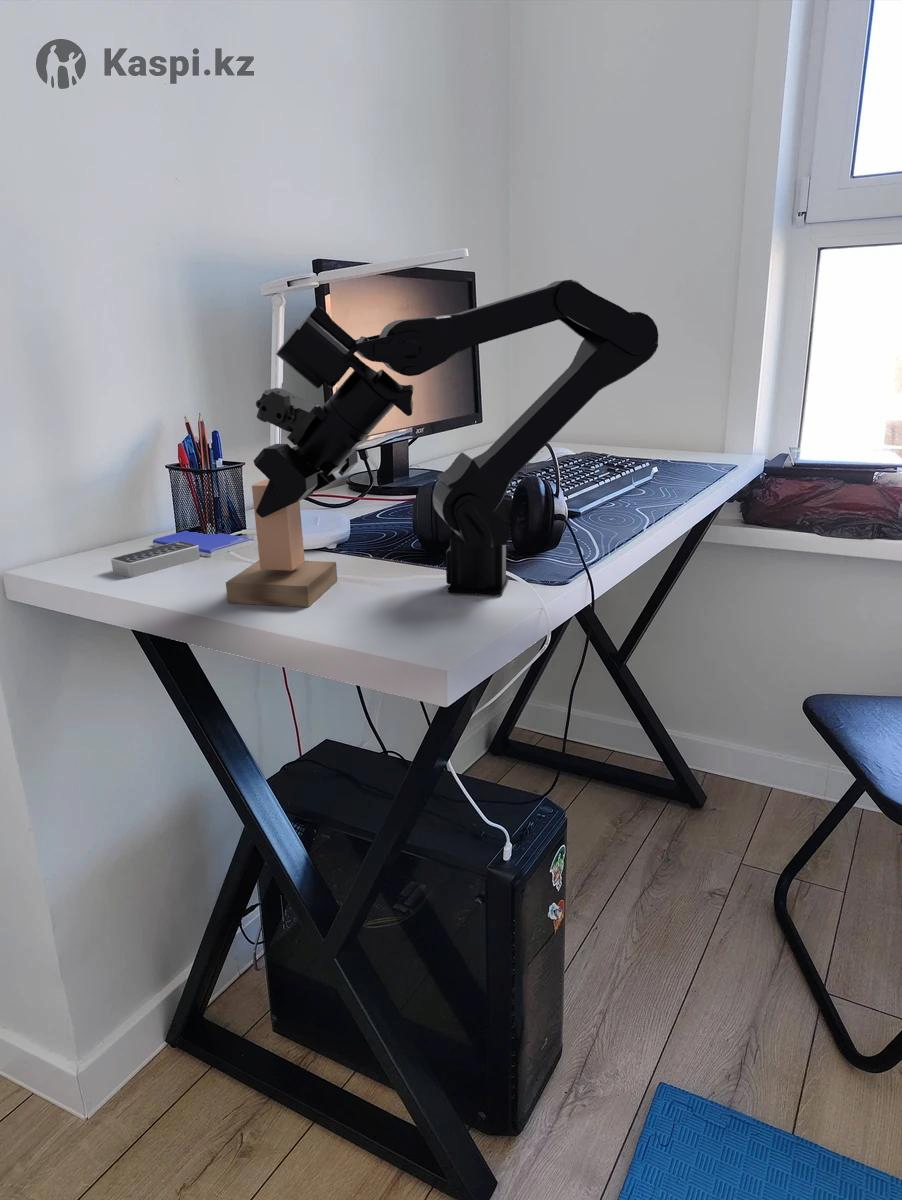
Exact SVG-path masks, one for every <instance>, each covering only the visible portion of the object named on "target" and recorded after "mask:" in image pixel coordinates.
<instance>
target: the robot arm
mask: <svg viewBox="0 0 902 1200" xmlns="http://www.w3.org/2000/svg"><path fill="white" fill-rule="evenodd" d="M555 321H560V322H562V323H563V324H564V325H565V326H566V327H568V328H569V329H570V330H571V331H573V332H574V333H575V334H576V335H577V336H579V337H581V338H583V340H582V341H581V343H580V345H579V347H578V349H577V351H576V354H575V355H574V358H573V360H572V361H571V363H570V364H569V366H568V368H566V369H565V370H564V372H563V373H561V375H560V376H558V377H557V379H555V381H553V382H552V383H551V384H550V386H549V387H548V388H547V389H546V390H545V391H544V392H543V393H542V394H541V395H540V396H538V398H537V399H536V400H535V401H534V402H532V403H531V405H530V406H529V407H528V408H527V409H526V410H525V411H524V412H523V413H522V414H521V415H520V416H519V417H518V418H517V419H516V420H515V421H514V422H513V423H512V424H511V425H510V426H509V427H508V428H507V429H506V430H505V431H504V432H503V433H502V434H501V435H500V437H498V439H496V440H495V442H494V443H492V444H491V445H490V447H489V448H488V449H486V450H485V451H484V452H482V453H481V454H478V455H477V456H475V457H473V458H471V457H470V456H469V455H467V454H466V453H464V452H460V453H459V454H458V455H457V457H456V458H455V459H454V460H453V462H452V463H451V465H450V466H449V467H448V468H447V469H446V470H444V471H443V472H439V473H438V474H437V475H436V476H437V478H438V479H440V480H438V482H437V483H436V484H435V486H434V488H433V490H432V505H433V507H434V510H435V512H436V513H437V514H438V516H439V517H440V518H442V520H443V521H444V522H445V523H446V524H447V525H448V527H450V529H451V530H452V531H453V532H454V534H453V536H452V537H451V538H450V539H449V541H450V542H449V547H448V549H447V550H446V551H445V571H446V572H445V575H446V576H445V577H446V584H447V585H449V586H448V587H447V593H448V594H461V595H462V594H463V595H482V596H483V595H485V596H502V595H503V593H504V591H505V589H506V586H507V584H508V582H509V579H510V578H509V576H508V575H507V543H508V539H509V538H510V534H511V532H512V527H511V525H509V524H508V523H506V521H504V519H502V518H501V517H500V516H499V515H498V514H497V513H496V512H495V511H496V510H497V509H498V507H500V505H501V503H502V502H503V500H504V498H505V496H506V493H507V490H508V489H509V487H510V484H511V482H512V480H513V479H514V478H515V476H516V475H518V473H519V472H520V471H521V470H522V469H523V468H524V467H525V466H526V465H527V464H528V463H529V462H530V461H531V460H532V459H533V458H534V457H535V456H536V455H537V454H538V453H539V452H540V451H541V450H542V449H543V448H544V447H545V446H546V445H547V444H548V443H549V442H550V441H551V440H552V439H553V438H554V437H555V436H556V435H557V434H558V433H559V432H560V431H561V430H562V429H563V428H564V427H565V426H566V425H567V424H568V422H570V421H571V420H572V419H573V418H574V417H575V416H576V415H577V414H578V413H579V412H580V411H581V410H582V409H583V408H584V406H586V405H587V404H588V403H589V402H590V401H591V400H592V399H593V397H595V396H596V395H597V394H598V393H599V392H600V391H601V390H603V389H605V388H606V387H609V386H610V385H612V384H614V383H615V382H618V381H620V380H622V379H623V378H626V377H627V376H628V375H631V374H632V373H633V372H634V371H636V370H637V369H638V368H640V367H641V366H642V365H644V364H645V363H647V362H648V361H649V360H651V358H652V357H653V356H654V354H656V352H657V350H658V347H659V331H658V326H657V325H656V323H655V321H654V319H652V317H650V316H649V315H648V314H646V313H644V312H641V311H628V310H626V309H625V308H623V307H621V306H619V304H616V303H614V302H612V301H610V300H608V299H607V298H604V297H602V296H600V295H599V294H596V293H594V292H592V291H591V290H589V289H588V288H586V287H585V286H584V285H582V284H581V283H580V282H579V281H577V280H575V279H565V280H555V281H553V282H551V283H550V284H548V285H546V286H543V287H540V288H537V289H533V290H530V291H527V292H523V293H520V294H517V295H513V296H511V297H507V298H503V299H501V300H497V301H494V302H489V303H487V304H485V305H481V306H477V307H473V308H471V309H467V310H464V311H461V312H458V313H455V314H454V313H452V314H443V315H434V316H433V315H432V316H424V317H423V316H422V317H413V318H404V319H403V318H402V319H398V320H394V321H392V322H389V323H388V324H387V325H385V326H383V329H382V330H381V332H380V334H377V335H373V336H367V337H366V336H360V337H359V339H355V338H353V337H352V336H351V335H350V334H349V333H348V332H346V331H345V330H344V329H343V328H342V327H341V325H340V326H339V325H338V324H337V323H336V322H335V320H333V319H332V317H331V316H330V315H329V314H328V312H326V310H324V309H323V308H322V307H321V306H319V305H317V306H315V307H314V308H313V309H312V310H311V312H309V314H308V315H307V316H306V318H304V320H303V321H302V322H301V324H299V326H298V327H295V328H294V329H293V330H292V332H291V333H290V334H289V335H288V337H286V340H284V342H283V343H282V344H281V346H280V347H279V349H278V350H277V352H276V353H275V355H276V356H277V357H279V358H280V359H281V360H282V361H283V362H284V363H285V364H287V365H288V366H289V367H290V368H292V369H293V370H294V371H295V372H296V373H298V374H299V375H300V376H302V378H303V379H305V380H306V381H307V382H308V383H310V384H311V385H312V386H314V388H315V389H317V390H318V389H320V388H321V387H322V386H323V385H324V384H325V385H326V386H327V387H329V388H330V389H333V388H334V387H335V386H336V385H337V384H338V382H340V380H341V379H342V378H343V377H344V375H346V373H347V372H348V370H349V369H350V368H351V369H352V370H353V371H352V372H351V373H350V375H349V376H348V377H347V378H346V379H345V380H344V381H343V382H342V384H341V385H340V386H339V387H338V388H337V390H336V391H335V392H334V393H333V394H332V395H331V396H330V397H329V399H328V400H327V401H326V402H325V403H323V404H314V403H312V402H311V401H309V400H306V399H304V398H303V397H301V396H298V395H296V394H295V393H292V392H290V391H289V390H286V389H283V388H279V387H274V388H270V389H266V390H265V389H264V392H262V394H261V397H260V399H258V400H256V401H255V406H256V408H257V409H258V411H257V414H256V418H257V419H258V420H259V421H261V422H263V423H269V424H271V425H274V426H275V427H277V428H279V429H282V430H284V431H287V432H288V433H289V435H287V437H286V438H287V439H288V440H289V441H290V443H291V444H293V445H294V446H292V447H291V446H290V445H289V443H275V444H272V445H270V446H267V447H265V448H264V447H263V449H262V450H261V451H260V452H259V453H258V454H257V456H256V457H255V458H254V459H253V464H254V466H255V467H256V469H258V470H259V471H260V472H261V473H262V474H263V475H264V476H265V477H266V479H269V482H268V485H267V487H266V489H265V492H264V494H263V496H262V498H261V501H260V503H259V505H258V507H257V509H256V513H257V514H258V515H259V516H260V517H262V518H264V517H266V516H268V515H270V514H272V513H274V512H276V511H278V510H280V509H283V508H285V507H287V506H289V505H291V504H293V503H295V502H298V501H301V500H304V499H306V498H308V497H309V496H311V495H313V494H314V492H316V491H318V490H320V489H322V488H324V487H326V486H328V485H330V484H332V483H333V482H335V481H336V480H337V478H336V476H335V475H334V473H335V472H337V471H338V470H339V471H338V474H339V476H341V477H343V476H345V475H346V474H347V473H350V471H351V470H352V469H353V468H354V467H355V465H357V464H358V462H359V461H358V459H359V458H358V451H357V450H356V449H357V448H358V447H359V446H361V445H364V444H365V443H366V442H367V441H368V439H369V438H370V436H369V434H371V432H372V431H373V430H374V429H375V428H376V426H378V425H379V423H380V422H382V420H383V419H384V418H385V417H386V415H388V414H389V413H390V411H391V410H392V409H393V408H394V407H396V408H397V409H398V410H400V411H401V412H402V414H404V415H406V416H407V417H411V416H412V415H413V409H414V401H413V394H414V385H413V384H406V385H405V384H400V383H399V382H397V380H395V378H393V377H392V376H391V375H389V373H388V372H386V371H385V370H384V369H383V368H382V369H379V370H378V371H376V370H375V369H373V368H371V367H370V366H368V365H367V364H366V363H365V362H364V361H362V360H361V359H360V358H359V357H358V356H357V355H356V354H358V355H359V356H360V357H361V358H362V359H365V360H368V361H370V362H373V363H383V364H384V366H385V367H387V369H389V370H391V371H392V372H395V373H397V374H399V375H402V376H405V377H406V376H407V377H414V376H420V375H422V374H424V373H426V372H428V371H429V370H431V369H434V368H436V367H438V366H440V365H441V364H443V363H445V362H447V361H448V360H450V359H451V358H453V357H455V356H456V355H458V354H460V353H461V352H463V351H465V350H467V349H468V348H470V347H471V348H472V347H475V346H477V345H481V344H483V343H487V342H490V341H494V340H497V339H501V338H505V337H507V336H509V335H513V334H517V333H521V332H523V331H527V330H529V329H533V328H537V327H539V326H542V325H546V324H549V323H553V322H555ZM355 353H356V354H355Z"/></svg>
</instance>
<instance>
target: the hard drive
mask: <svg viewBox="0 0 902 1200" xmlns="http://www.w3.org/2000/svg"><path fill="white" fill-rule="evenodd" d="M217 533H218V534H209V535H208V534H203V533H198V532H189V531H187V530H183V531H180V532H176V533H172V534H167V535H164V536H162V537H157V538H154V539H153V540H152V544H153V545H152V546H153V547H158V546H162V545H166V544H170V543H174V542H178V541H182V542H186V543H190V544H195V545H198V547H199V555H200V556H203V557H208V558H213V557H216V556H220V555H223V554H227V553H229V552H228V551H229V550H230V552H233V551H235V550H240V549H242V548H245V547H249V546H252V545H255V543H254V538H253V537H252V538H251V537H246V536H241V535H240V536H239V535H235V534H228V533H227V534H226V533H221V532H217Z"/></svg>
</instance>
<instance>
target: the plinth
mask: <svg viewBox="0 0 902 1200" xmlns="http://www.w3.org/2000/svg"><path fill="white" fill-rule="evenodd" d="M337 582H338V569H337V562H336V561H326V560H323V561H320V560H305V561H304V562H303V563H301V564H300V565H299V566H297V567H296V568H295V569H293V570H268V569H260V560H257V561H256V562H254V563H253V564H251V565H249V566H248V567H247V568H245V569H243V570H242V571H241V572H239V573H237V574H236V575H234V577H232V578H231V579H228V580H227V581H226V582H225V587H226V588H225V589H226V596H227V603H228V604H239V605H240V604H242V605H243V604H245V605H261V606H262V605H263V606H279V607H280V606H282V607H301V608H309V607H311V606H312V605H313V604H314V603H315V602H317V601H318V599H320V598H321V596H323V595H324V594H325V593H326V592H328V590H330V589H331V587H333V586H334V585H335V584H336V583H337Z"/></svg>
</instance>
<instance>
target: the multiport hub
mask: <svg viewBox="0 0 902 1200" xmlns="http://www.w3.org/2000/svg"><path fill="white" fill-rule="evenodd" d="M200 557H201V555H199V547H198V545H195V544H190V543H186V542H182V541H178V542H174V543H170V544H166V545H162V546H158V547H156V546H153V547H151V548H147V549H142V550H139V551H135V552H131V553H127V554H123V555H120V556H115V557H113V558H111V559H110V561H111V568H112V573H113V574H114V575H119V576H121V577H125V578H128V579H130V578H131V579H132V578H136V577H140V576H143V575H147V574H150V573H155V572H158V571H162V570H165V569H169V568H172V567H176V566H180V565H184V564H188V563H190V562H195V561H198V560H200V559H201V558H200Z"/></svg>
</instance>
